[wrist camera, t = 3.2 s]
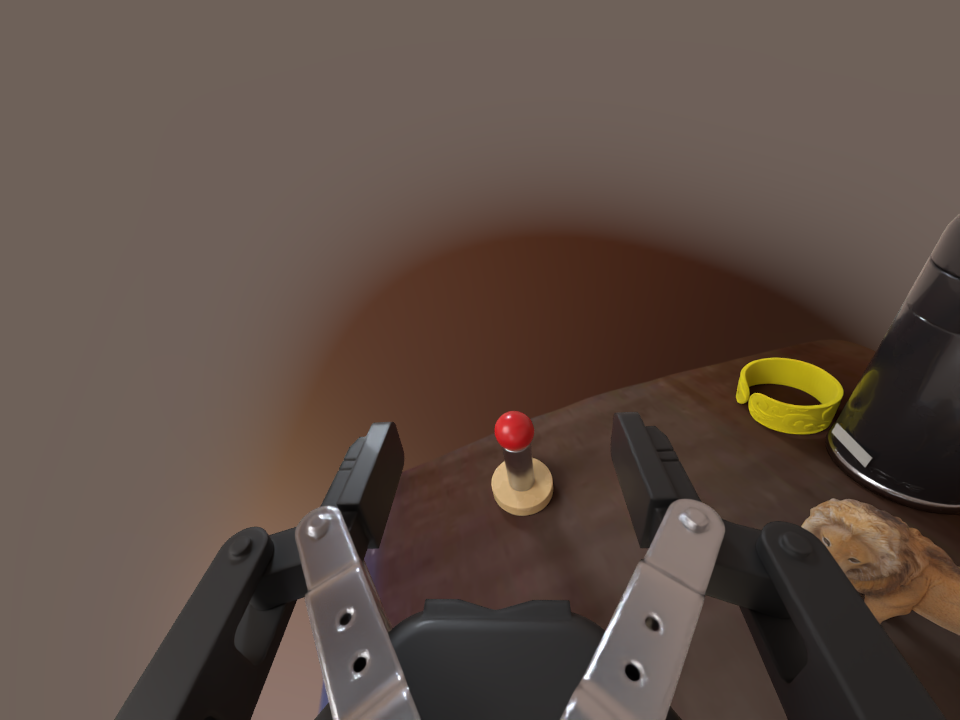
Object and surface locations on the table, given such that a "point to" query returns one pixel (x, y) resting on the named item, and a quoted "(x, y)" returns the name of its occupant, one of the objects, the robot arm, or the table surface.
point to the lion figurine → (889, 562)
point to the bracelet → (798, 377)
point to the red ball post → (520, 468)
